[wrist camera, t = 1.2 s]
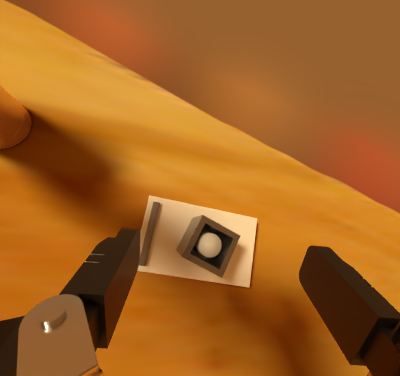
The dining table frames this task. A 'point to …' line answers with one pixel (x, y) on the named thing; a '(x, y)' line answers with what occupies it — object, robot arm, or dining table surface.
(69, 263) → the dining table surface
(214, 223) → the hollow square tube
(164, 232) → the peg stand
